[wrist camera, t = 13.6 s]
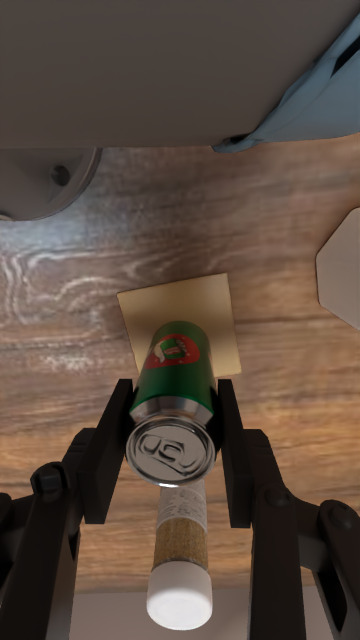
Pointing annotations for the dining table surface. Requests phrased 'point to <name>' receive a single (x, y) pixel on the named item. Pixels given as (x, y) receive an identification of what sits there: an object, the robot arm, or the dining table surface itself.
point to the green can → (174, 409)
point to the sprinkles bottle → (181, 560)
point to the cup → (341, 271)
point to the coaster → (184, 316)
